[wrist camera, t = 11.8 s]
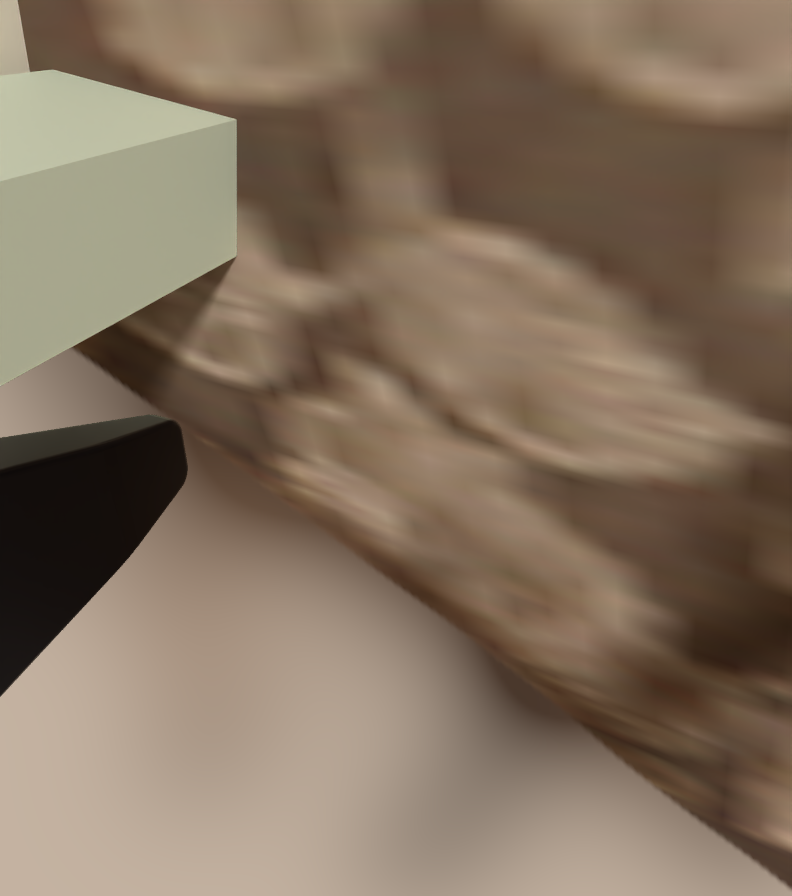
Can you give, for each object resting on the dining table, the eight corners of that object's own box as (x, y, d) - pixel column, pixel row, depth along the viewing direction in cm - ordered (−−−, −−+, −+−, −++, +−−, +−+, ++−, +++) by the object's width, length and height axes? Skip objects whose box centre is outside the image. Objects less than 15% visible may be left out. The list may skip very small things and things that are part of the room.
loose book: (53, 69, 21) (-377, 118, 13) (236, 119, 20) (-111, 210, 11) (73, 203, 24) (-270, 315, 16) (236, 256, 23) (-45, 411, 14)
